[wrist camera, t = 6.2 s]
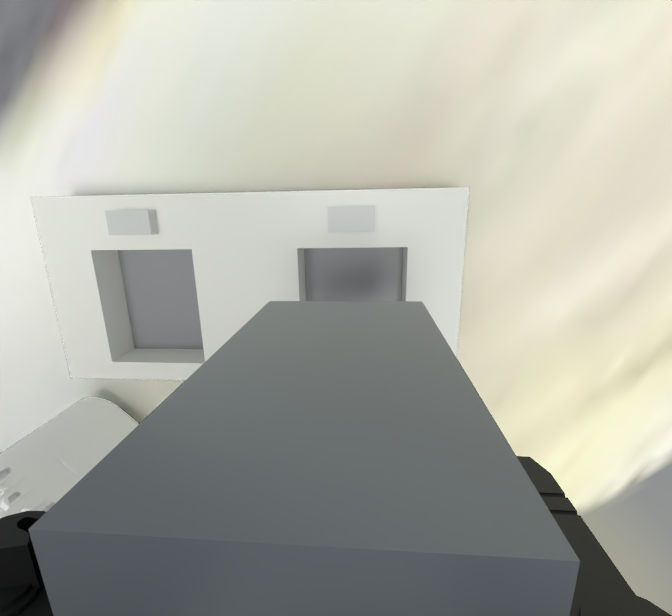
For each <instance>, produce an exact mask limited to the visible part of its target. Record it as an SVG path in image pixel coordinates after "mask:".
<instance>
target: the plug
mask: <svg viewBox="0 0 672 616" xmlns="http://www.w3.org/2000/svg"><path fill="white" fill-rule="evenodd" d="M28 530H29V534H30V537H31V541H32V544H33V547H34V551H35V554H36V558H37V561H38V565H39V568H40V571H41V575H42V578H43V582H44V585H45V588H46V592H47V595H48V599H49V602H50V606H51V609H52V612H53V616H569V615H570V610H571V605H572V600H573V595H574V590H575V585H576V580H577V575H578V570H579V565H580V560H579V558H578V557H577V555H576V553H575V552H574V550H573V549H572V547H571V545H570V544H569V542H568V540H567V539H566V537H565V535H564V534H563V532H562V530H561V529H560V527H559V526H558V524H557V522H556V521H555V519H554V517H553V516H552V514H551V512H550V511H549V509H548V507H547V506H546V504H545V503H544V501H543V499H542V498H541V496H540V494H539V493H538V491H537V489H536V488H535V486H534V484H533V483H532V481H531V480H530V478H529V476H528V475H527V473H526V471H525V470H524V468H523V466H522V465H521V463H520V461H519V460H518V458H517V456H516V455H515V453H514V452H513V450H512V448H511V447H510V445H509V443H508V442H507V440H506V438H505V437H504V435H503V433H502V432H501V430H500V429H499V427H498V425H497V424H496V422H495V420H494V419H493V417H492V415H491V414H490V412H489V410H488V409H487V407H486V406H485V404H484V402H483V401H482V399H481V397H480V396H479V394H478V392H477V391H476V389H475V387H474V386H473V384H472V382H471V381H470V379H469V378H468V376H467V374H466V373H465V371H464V369H463V368H462V366H461V364H460V363H459V361H458V359H457V358H456V356H455V355H454V353H453V351H452V350H451V348H450V346H449V345H448V343H447V341H446V340H445V338H444V336H443V335H442V333H441V332H440V330H439V328H438V327H437V325H436V323H435V322H434V320H433V318H432V317H431V315H430V313H429V312H428V310H427V308H426V307H425V305H424V304H423V302H422V301H269V302H268V303H267V304H266V305H265V306H264V307H263V308H262V309H261V310H260V311H259V312H257V313H256V314H255V315H254V316H253V317H252V318H251V319H250V320H249V321H248V322H247V323H246V324H245V325H244V326H243V327H242V328H241V329H239V330H238V331H237V332H236V333H235V334H234V335H233V336H232V337H231V338H230V339H229V340H228V341H227V342H226V343H225V344H224V345H223V346H222V347H220V348H219V349H218V350H217V351H216V352H215V353H214V354H213V355H212V356H211V357H210V358H209V359H208V360H207V361H206V362H205V363H204V364H202V365H201V366H200V367H199V368H198V369H197V370H196V371H195V372H194V373H193V374H192V375H191V376H190V377H189V378H188V379H187V380H186V381H184V382H183V383H182V384H181V385H180V386H179V387H178V388H177V389H176V390H175V391H174V392H173V393H172V394H171V395H170V396H169V397H168V398H167V399H165V400H164V401H163V402H162V403H161V404H160V405H159V406H158V407H157V408H156V409H155V410H154V411H153V412H152V413H151V414H150V415H149V416H147V417H146V418H145V419H144V420H143V421H142V422H141V423H140V424H139V425H138V426H137V427H136V428H135V429H134V430H133V431H132V432H131V433H130V434H128V435H127V436H126V437H125V438H124V439H123V440H122V441H121V442H120V443H119V444H118V445H117V446H116V447H115V448H114V449H113V450H112V451H110V452H109V453H108V454H107V455H106V456H105V457H104V458H103V459H102V460H101V461H100V462H99V463H98V464H97V465H96V466H95V467H94V468H92V469H91V470H90V471H89V472H88V473H87V474H86V475H85V476H84V477H83V478H82V479H81V480H80V481H79V482H78V483H77V484H76V485H75V486H73V487H72V488H71V489H70V490H69V491H68V492H67V493H66V494H65V495H64V496H63V497H62V498H61V499H60V500H59V501H58V502H57V503H55V504H54V505H53V506H52V507H51V508H50V509H49V510H48V511H47V512H46V513H45V514H44V515H43V516H42V517H41V518H40V519H39V520H37V521H36V522H35V523H34V524H33V525H32V526H31V527H30V528H29V529H28Z"/></svg>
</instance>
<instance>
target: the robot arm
mask: <svg viewBox="0 0 672 616" xmlns="http://www.w3.org/2000/svg"><path fill="white" fill-rule="evenodd" d="M517 458H518V460H519V461H520V463H521V465H522V466H523V468H524V470H525V471H526V473H527V475H528V476H529V478H530V480H531V481H532V483H533V484H534V486H535V488H536V489H537V491H538V493H539V494H540V496H541V498H542V499H543V501H544V503H545V504H546V506H547V507H548V509H549V511H550V512H551V514H552V516H553V517H554V519H555V521H556V522H557V524H558V526H559V527H560V529H561V530H562V532H563V534H564V535H565V537H566V539H567V540H568V542H569V544H570V545H571V547H572V549H573V550H574V552H575V553H576V555H577V557H578V558H579V560H580V565H579V570H578V575H577V580H576V585H575V590H574V595H573V600H572V605H571V610H570V615H569V616H671V615H670V614H668V613H667V612H665V611H664V610H662V609H660V608H659V607H657V606H656V605H654V604H652V603H651V602H650V601H648V600H646V599H644V598H641V597H638V596H636V595H635V593H634V592H633V591H632V590H631V588H630V587H629V585H628V584H627V582H626V581H625V580H624V578H623V577H622V575H621V574H620V572H619V571H618V569H617V568H616V567H615V565H614V564H613V562H612V561H611V559H610V558H609V557H608V555H607V554H606V552H605V551H604V550H603V548H602V546H601V545H600V544H599V542H598V541H597V539H596V538H595V536H594V535H593V534H592V532H591V531H590V529H589V528H588V526H587V525H586V524H585V522H584V521H583V519H582V518H581V516H578V515H577V511H576V509H575V508H574V506H573V505H572V503H571V502H570V501H569V499H568V498H565V493H564V492H563V491H562V489H561V488H560V486H559V485H558V483H557V482H556V480H555V479H554V478H553V476H552V475H551V473H549V472H548V471H547V470H546V469H544V468H543V467H542V466H540V465H539V464H538V463H537V462H535V461H534V460H533V459H532V458H530V457H521V456H517ZM45 513H46V512H45V511H25V512H21V513H17V514H12V515H8V516H5V517H3V518H1V519H0V616H53V612H52V609H51V606H50V602H49V599H48V595H47V592H46V588H45V585H44V582H43V578H42V575H41V571H40V568H39V565H38V561H37V558H36V554H35V551H34V547H33V544H32V541H31V537H30V534H29V530H28V529H29V528H30V527H31V526H32V525H33V524H34V523H35V522H36V521H37V520H39V519H40V518H41V517H42V516H43V515H44V514H45Z"/></svg>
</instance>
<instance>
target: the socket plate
mask: <svg viewBox="0 0 672 616" xmlns="http://www.w3.org/2000/svg"><path fill="white" fill-rule="evenodd" d="M30 199H31V204H32V208H33V213H34V217H35V221H36V226H37V230H38V235H39V239H40V244H41V248H42V253H43V257H44V262H45V266H46V270H47V275H48V279H49V284H50V288H51V293H52V297H53V302H54V306H55V311H56V315H57V320H58V324H59V328H60V333H61V337H62V342H63V346H64V351H65V355H66V360H67V364H68V369H69V373H70V378H95V379H146V380H187V379H188V378H189V377H190V376H191V375H192V374H193V373H194V372H195V371H196V370H197V369H198V368H199V367H200V366H201V365H202V364H204V363H205V362H206V361H207V360H208V359H209V358H210V357H211V356H212V355H213V354H214V353H215V352H216V351H217V350H218V349H219V348H220V347H222V346H223V345H224V344H225V343H226V342H227V341H228V340H229V339H230V338H231V337H232V336H233V335H234V334H235V333H236V332H237V331H238V330H239V329H241V328H242V327H243V326H244V325H245V324H246V323H247V322H248V321H249V320H250V319H251V318H252V317H253V316H254V315H255V314H256V313H257V312H259V311H260V310H261V309H262V308H263V307H264V306H265V305H266V304H267V303H268V302H269V301H422V302H423V304H424V305H425V307H426V308H427V310H428V312H429V313H430V315H431V317H432V318H433V320H434V322H435V323H436V325H437V327H438V328H439V330H440V332H441V333H442V335H443V336H444V338H445V340H446V341H447V343H448V345H449V346H450V348H451V350H452V351H453V353H454V355H455V356H456V358H457V349H458V335H459V322H460V308H461V295H462V281H463V267H464V254H465V240H466V227H467V213H468V200H469V187H453V188H407V189H362V190H317V191H272V192H227V193H181V194H136V195H91V196H46V197H30Z"/></svg>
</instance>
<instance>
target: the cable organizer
mask: <svg viewBox="0 0 672 616" xmlns="http://www.w3.org/2000/svg"><path fill="white" fill-rule="evenodd" d="M138 425H139V423H138V422H137V421H136V420H135V419H133V418H132V417H131V416H130V415H128V414H127V413H126V412H125V411H123V410H122V409H121V408H120V407H118V406H117V405H116V404H114V403H112V402H110V401H108V400H106V399H102V398H98V397H87V398H83V399H81V400H80V401H78V402H77V403H75V404H74V405H72V406H71V407H69V408H68V409H66V410H65V411H63V412H62V413H60V414H59V415H57V416H56V417H54V418H53V419H51V420H50V421H48V422H47V423H45V424H44V425H42V426H41V427H39V428H38V429H36V430H35V431H33V432H32V433H30V434H29V435H27V436H26V437H24V438H23V439H21V440H20V441H18V442H17V443H15V444H14V445H12V446H11V447H9V448H8V449H6V450H5V451H3V452H2V453H0V519H1V518H3V517H5V516H8V515H12V514H17V513H21V512H25V511H45V512H47V511H48V510H49V509H50V508H51V507H52V506H53V505H54V504H55V503H57V502H58V501H59V500H60V499H61V498H62V497H63V496H64V495H65V494H66V493H67V492H68V491H69V490H70V489H71V488H72V487H73V486H75V485H76V484H77V483H78V482H79V481H80V480H81V479H82V478H83V477H84V476H85V475H86V474H87V473H88V472H89V471H90V470H91V469H92V468H94V467H95V466H96V465H97V464H98V463H99V462H100V461H101V460H102V459H103V458H104V457H105V456H106V455H107V454H108V453H109V452H110V451H112V450H113V449H114V448H115V447H116V446H117V445H118V444H119V443H120V442H121V441H122V440H123V439H124V438H125V437H126V436H127V435H128V434H130V433H131V432H132V431H133V430H134V429H135V428H136V427H137V426H138Z"/></svg>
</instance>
